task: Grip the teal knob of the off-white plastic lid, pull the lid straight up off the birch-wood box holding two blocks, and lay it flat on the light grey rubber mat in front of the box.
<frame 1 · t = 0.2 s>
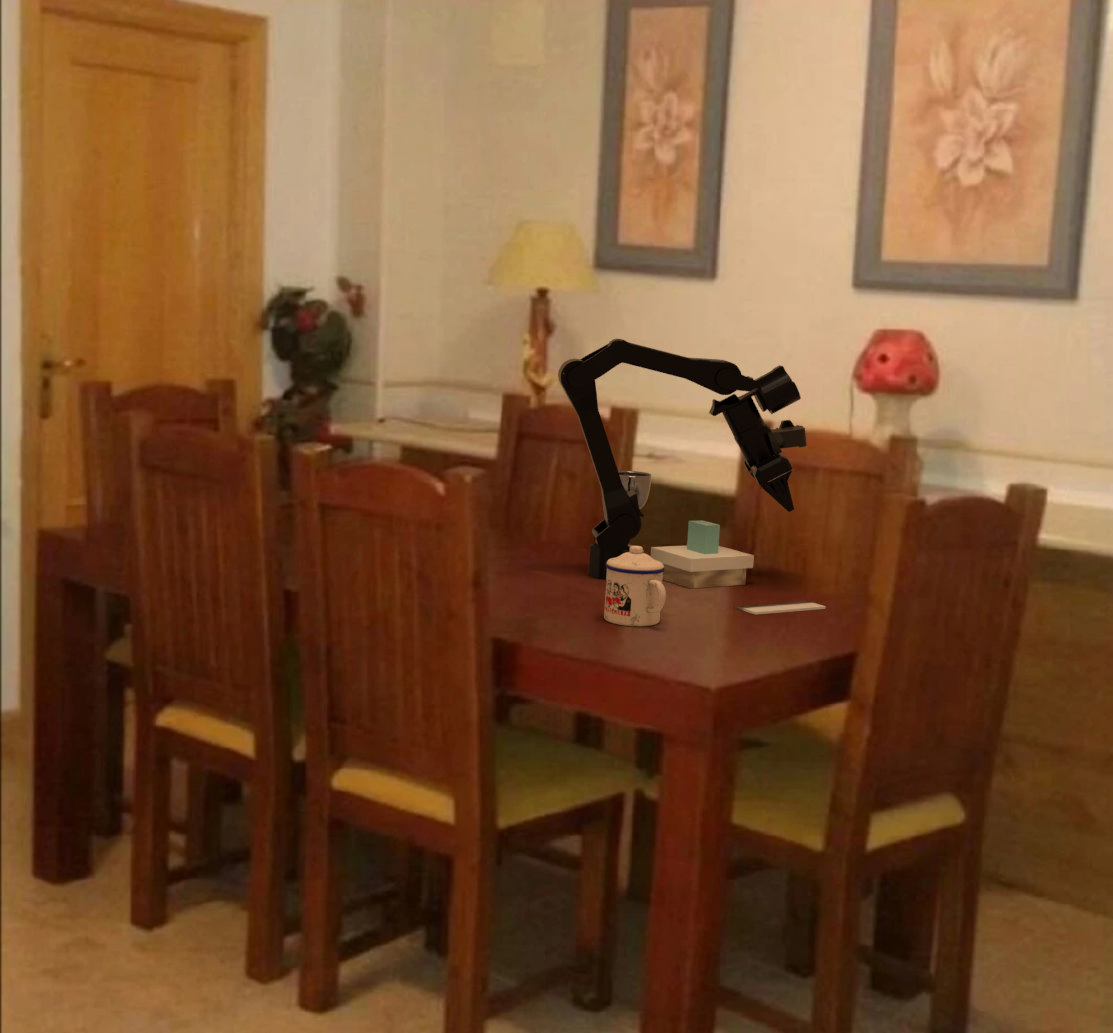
hand: (787, 506, 284), 15 cm above the table, tool tilted 30°, fingers open, 9 cm apart
teacup with lid: (637, 624, 251), on the table
block b: (711, 580, 286), point 1 cm above the table, touching box
wine glass: (625, 550, 318), on the table
box: (699, 585, 285), on the table
lid: (701, 557, 285), point 5 cm above the table, touching box
mat: (763, 603, 273), on the table
block a: (689, 581, 284), point 1 cm above the table, touching box
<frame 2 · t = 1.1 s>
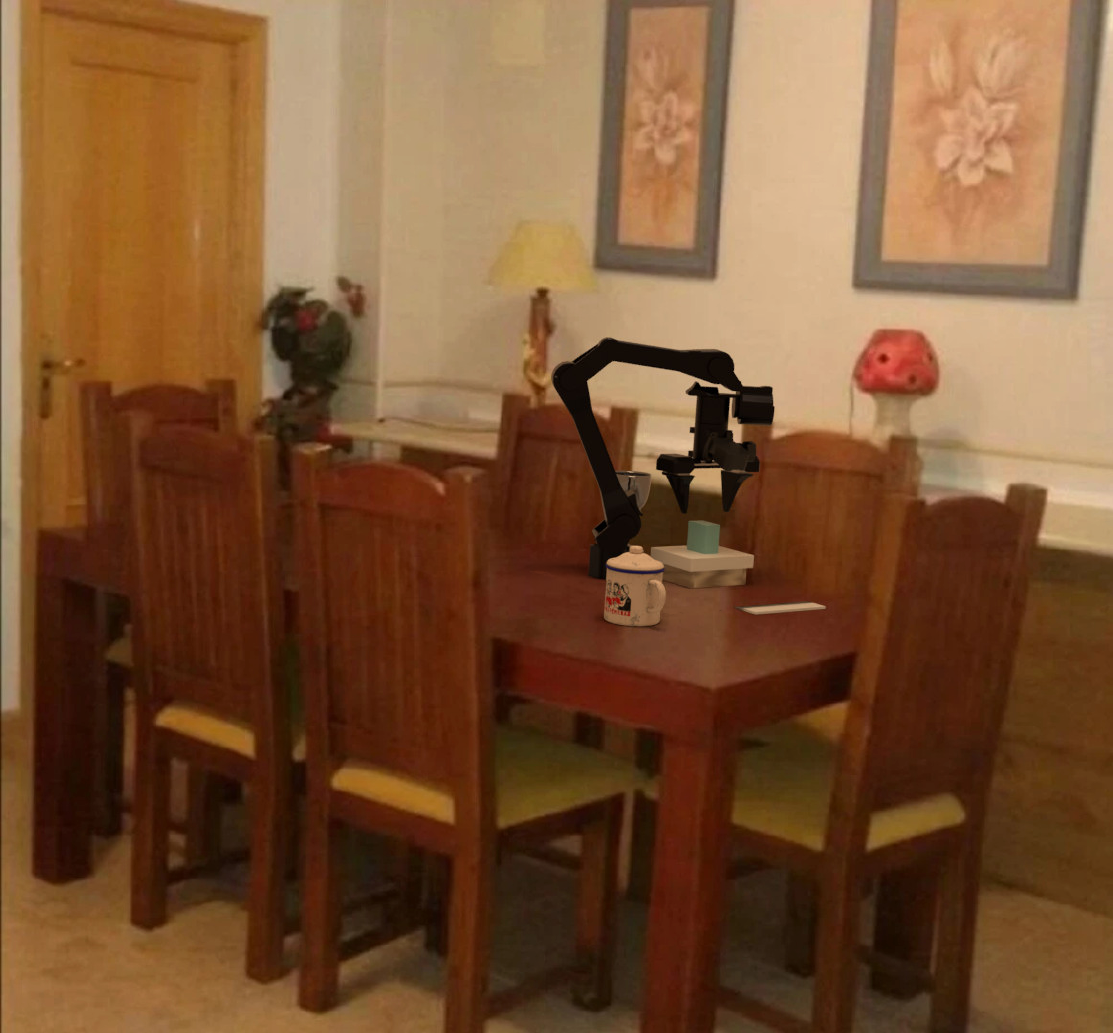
hand: (705, 512, 283), 13 cm above the table, tool pointing down, fingers open, 9 cm apart
nothing on the table moved.
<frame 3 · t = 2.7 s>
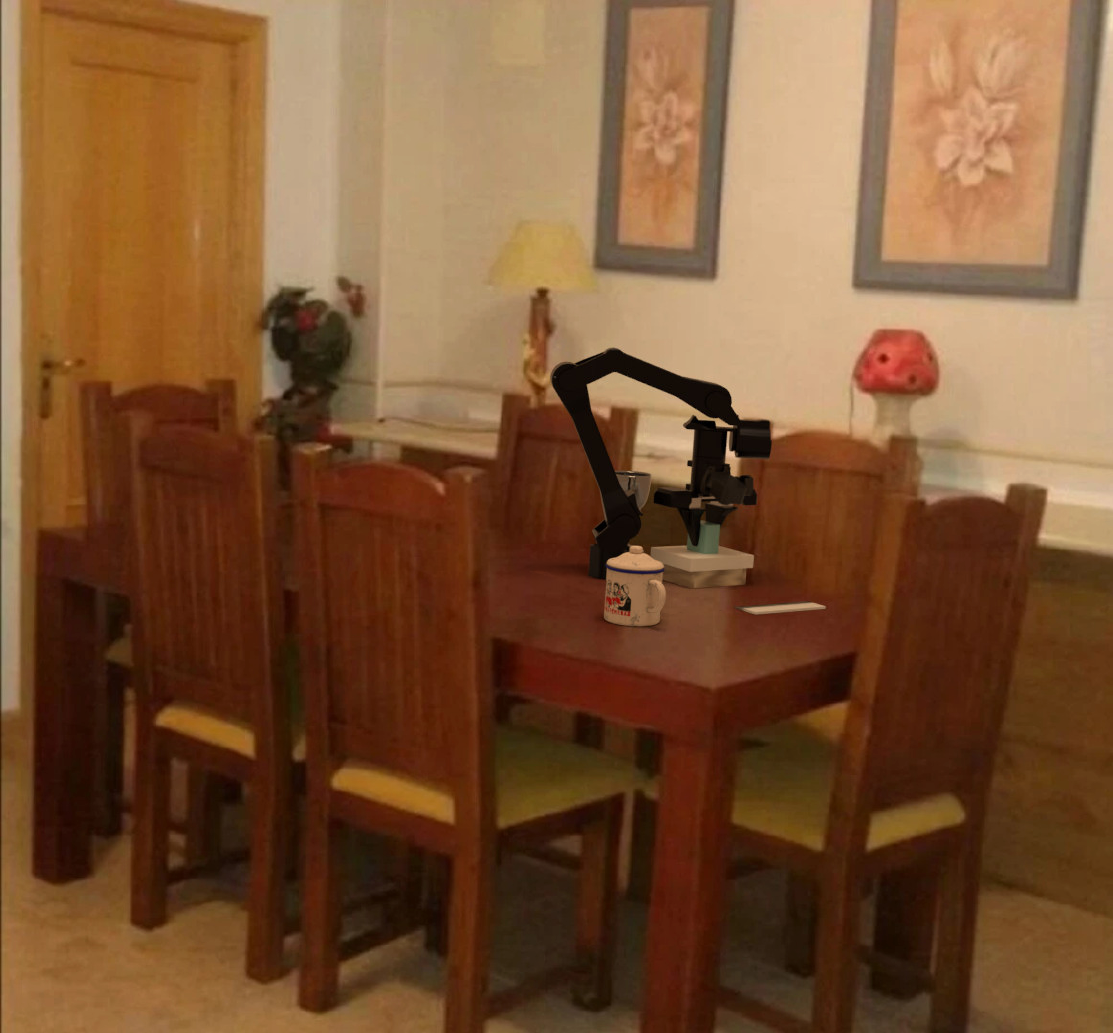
hand: (702, 545, 284), 7 cm above the table, tool pointing down, fingers closed on lid, 3 cm apart
lid: (701, 557, 285), point 5 cm above the table, touching box, gripper
everything else where it was.
when the fingers open (5 cm above the table, at t = 7.5 s): lid drops 1 cm, resting on mat.
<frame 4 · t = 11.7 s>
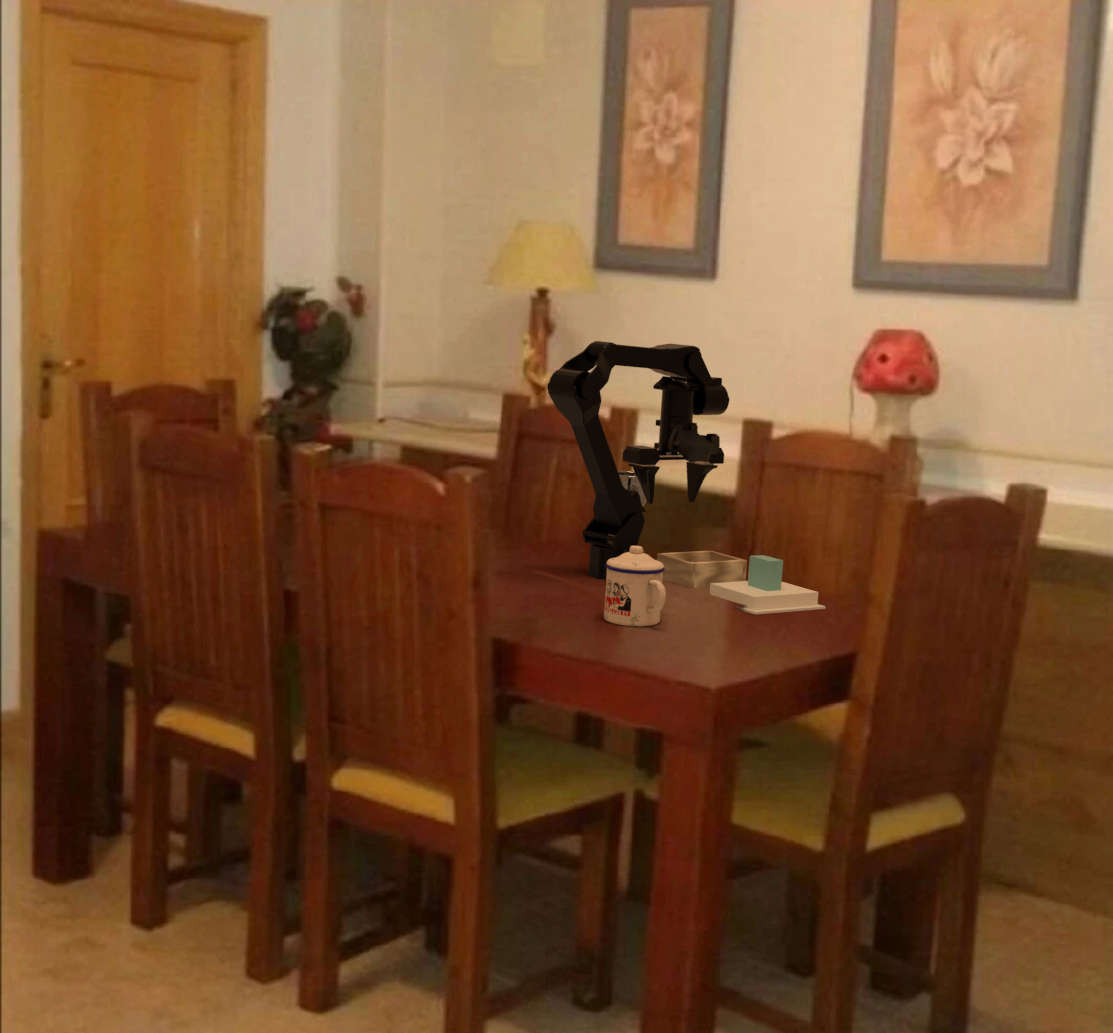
hand: (670, 503, 292), 13 cm above the table, tool pointing down, fingers open, 9 cm apart
lid: (763, 593, 272), point 2 cm above the table, touching mat
everything else where it was.
at the end: lid inside the target area on the mat (0.0 cm from its centre), point 1.6 cm above the mat's base; lid tilted 0°; the gripper is holding nothing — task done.
